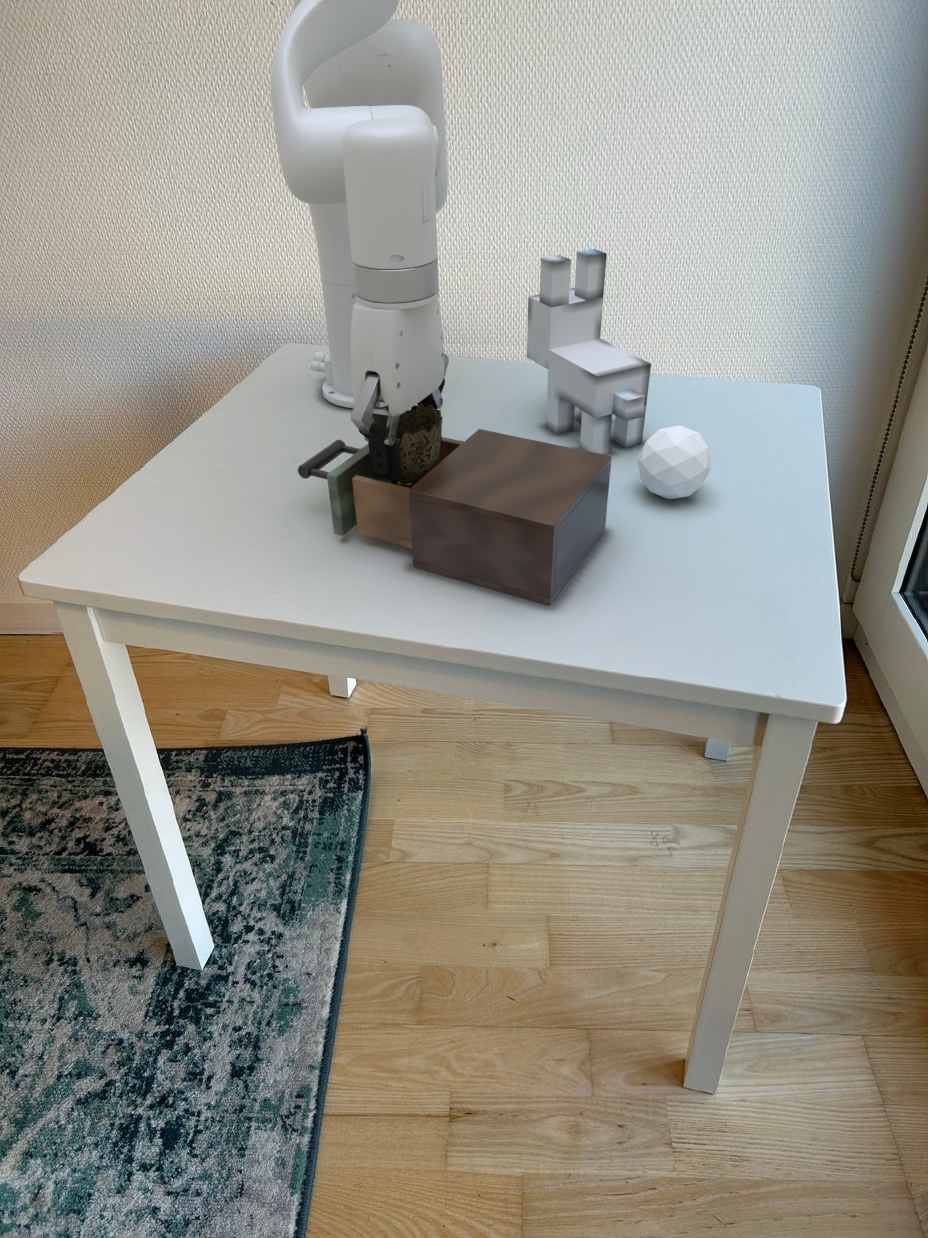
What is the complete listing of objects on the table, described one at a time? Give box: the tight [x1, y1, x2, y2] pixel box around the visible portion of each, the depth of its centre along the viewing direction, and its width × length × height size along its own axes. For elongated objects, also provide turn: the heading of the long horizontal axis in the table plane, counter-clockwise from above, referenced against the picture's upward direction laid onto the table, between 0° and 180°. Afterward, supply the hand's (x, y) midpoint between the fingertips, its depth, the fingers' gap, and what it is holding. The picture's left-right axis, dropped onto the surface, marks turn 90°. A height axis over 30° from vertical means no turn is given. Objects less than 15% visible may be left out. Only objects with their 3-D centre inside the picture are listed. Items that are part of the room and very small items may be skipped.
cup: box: [378, 403, 443, 488], centre depth 87 cm, size 8×7×8 cm
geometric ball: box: [636, 424, 713, 500], centre depth 93 cm, size 8×8×8 cm
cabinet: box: [408, 428, 612, 606], centre depth 85 cm, size 15×15×9 cm
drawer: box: [297, 436, 465, 549], centre depth 90 cm, size 20×13×7 cm
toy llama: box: [526, 248, 652, 455], centre depth 103 cm, size 8×18×20 cm, turn 29°
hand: (407, 459), depth 87 cm, fingers closed on cup, 7 cm apart
